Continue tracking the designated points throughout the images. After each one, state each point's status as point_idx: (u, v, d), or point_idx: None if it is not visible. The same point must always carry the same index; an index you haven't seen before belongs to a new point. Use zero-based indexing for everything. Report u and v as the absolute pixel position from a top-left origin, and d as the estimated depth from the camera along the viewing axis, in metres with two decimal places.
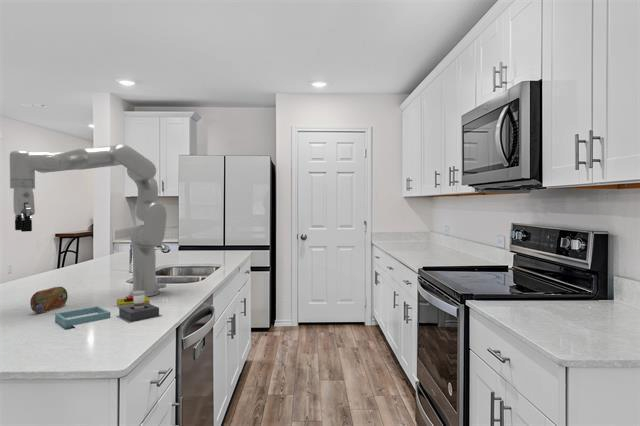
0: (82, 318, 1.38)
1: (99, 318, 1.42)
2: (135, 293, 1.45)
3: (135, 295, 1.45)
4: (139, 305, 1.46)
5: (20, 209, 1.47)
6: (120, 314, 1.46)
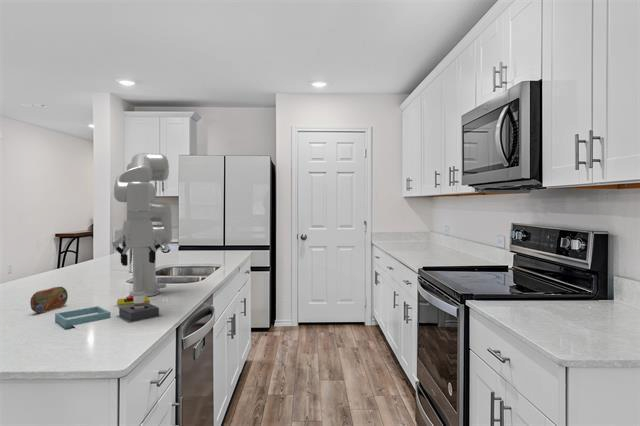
0: (82, 318, 1.38)
1: (99, 318, 1.42)
2: (135, 293, 1.45)
3: (135, 295, 1.45)
4: (139, 305, 1.46)
5: (153, 241, 1.49)
6: (120, 314, 1.46)
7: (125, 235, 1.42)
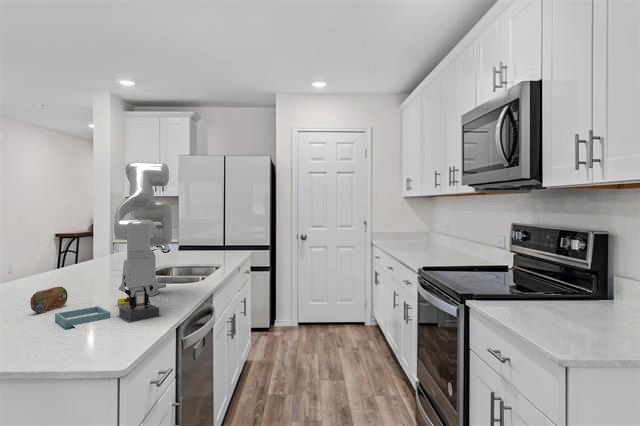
0: (82, 318, 1.38)
1: (99, 318, 1.42)
2: (135, 293, 1.45)
3: (135, 295, 1.45)
4: (139, 305, 1.46)
5: (154, 279, 1.49)
6: (120, 314, 1.46)
7: (126, 275, 1.42)
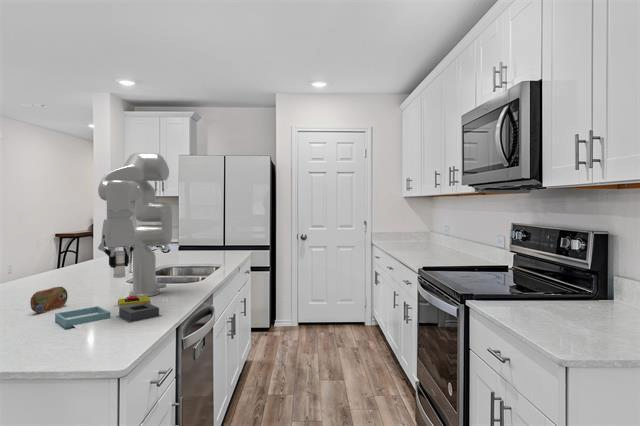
0: (82, 318, 1.38)
1: (99, 318, 1.42)
2: (115, 253, 1.44)
3: (115, 255, 1.44)
4: (119, 265, 1.44)
5: (134, 240, 1.48)
6: (120, 314, 1.46)
7: (105, 234, 1.41)
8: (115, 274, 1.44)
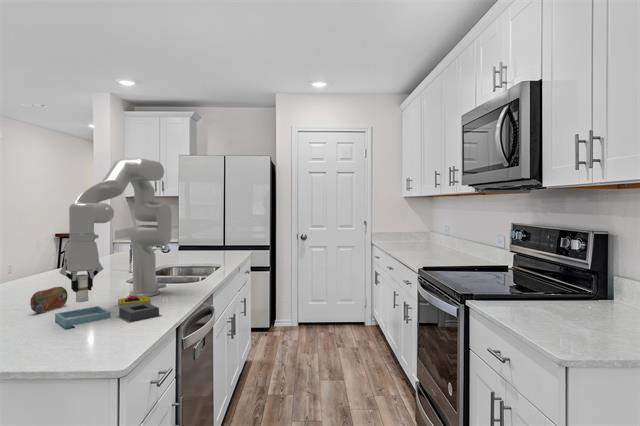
0: (82, 318, 1.38)
1: (99, 318, 1.42)
2: (77, 277, 1.41)
3: (77, 280, 1.42)
4: (82, 289, 1.42)
5: (98, 263, 1.46)
6: (120, 314, 1.46)
7: (67, 258, 1.39)
8: (77, 298, 1.42)
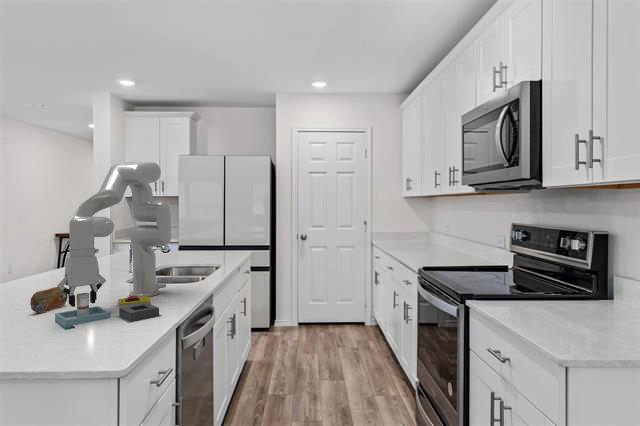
0: (82, 318, 1.38)
1: (99, 318, 1.42)
2: (78, 296, 1.42)
3: (78, 299, 1.42)
4: (82, 308, 1.42)
5: (99, 277, 1.46)
6: (120, 314, 1.46)
7: (67, 273, 1.39)
8: None
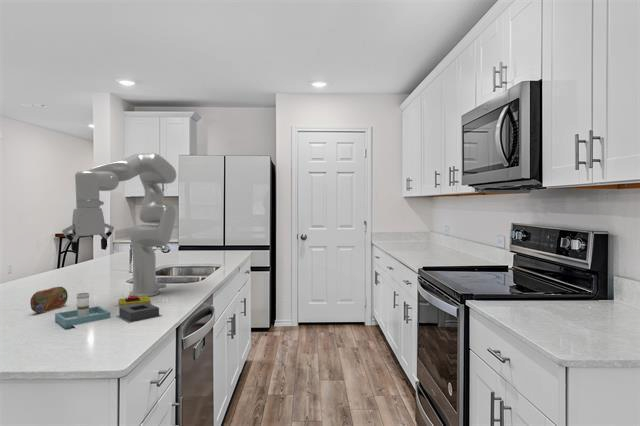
0: (82, 318, 1.38)
1: (99, 318, 1.42)
2: (78, 296, 1.42)
3: (78, 299, 1.42)
4: (82, 308, 1.42)
5: (104, 228, 1.54)
6: (120, 314, 1.46)
7: (75, 223, 1.47)
8: None
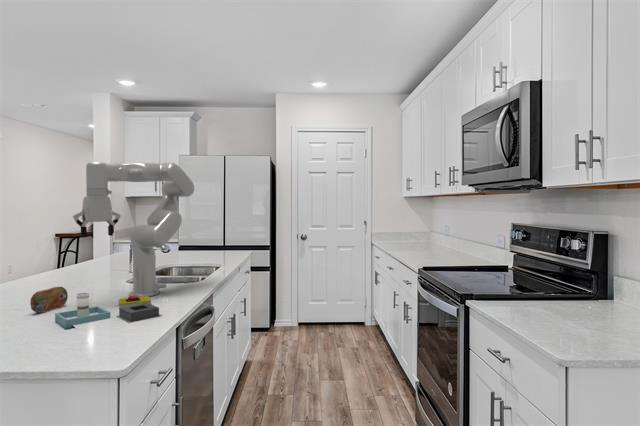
0: (82, 318, 1.38)
1: (99, 318, 1.42)
2: (78, 296, 1.42)
3: (78, 299, 1.42)
4: (82, 308, 1.42)
5: (111, 216, 1.66)
6: (120, 314, 1.46)
7: (84, 209, 1.59)
8: None
